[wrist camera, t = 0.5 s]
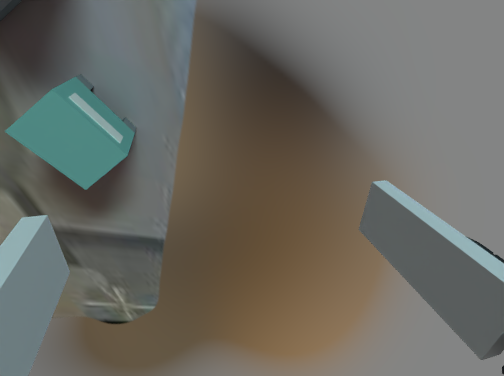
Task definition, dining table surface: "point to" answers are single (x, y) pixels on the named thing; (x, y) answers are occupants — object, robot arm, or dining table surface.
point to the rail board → (7, 7)
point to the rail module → (75, 132)
